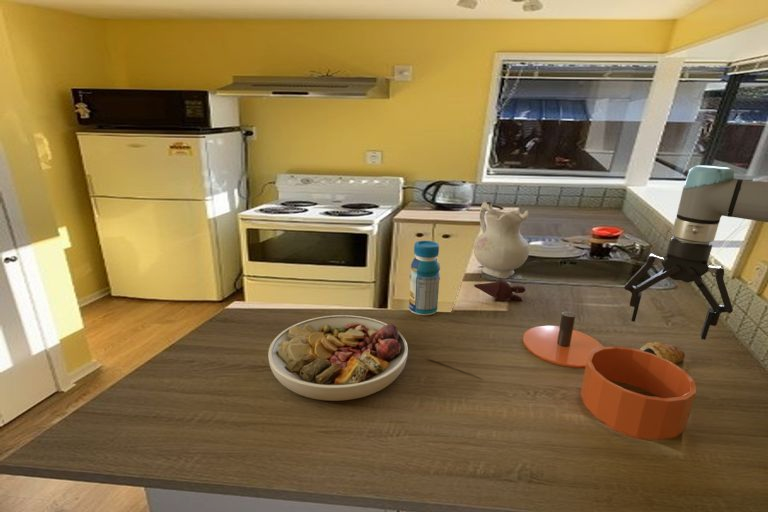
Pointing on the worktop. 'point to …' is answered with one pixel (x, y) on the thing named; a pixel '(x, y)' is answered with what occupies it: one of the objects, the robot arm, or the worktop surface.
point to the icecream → (501, 290)
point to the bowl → (338, 357)
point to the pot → (632, 408)
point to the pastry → (664, 351)
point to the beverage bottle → (424, 278)
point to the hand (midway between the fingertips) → (666, 327)
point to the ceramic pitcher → (501, 242)
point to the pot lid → (561, 343)
